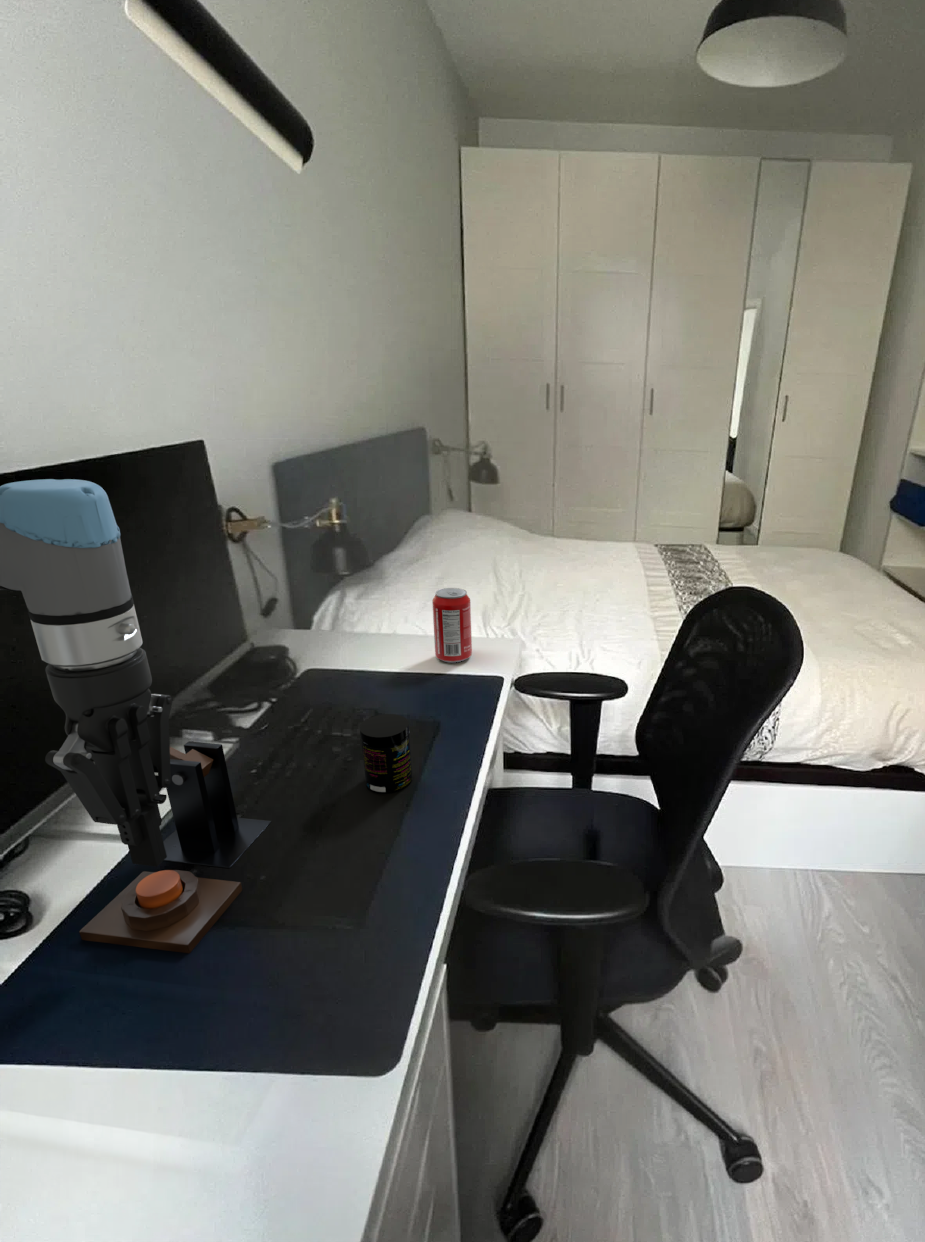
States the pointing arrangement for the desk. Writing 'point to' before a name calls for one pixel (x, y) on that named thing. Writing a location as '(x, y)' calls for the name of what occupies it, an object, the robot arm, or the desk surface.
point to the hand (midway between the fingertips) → (150, 860)
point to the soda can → (452, 625)
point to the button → (159, 889)
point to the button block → (163, 915)
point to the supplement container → (386, 753)
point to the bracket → (206, 813)
